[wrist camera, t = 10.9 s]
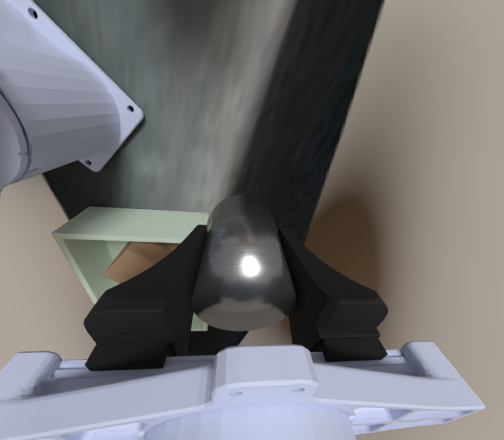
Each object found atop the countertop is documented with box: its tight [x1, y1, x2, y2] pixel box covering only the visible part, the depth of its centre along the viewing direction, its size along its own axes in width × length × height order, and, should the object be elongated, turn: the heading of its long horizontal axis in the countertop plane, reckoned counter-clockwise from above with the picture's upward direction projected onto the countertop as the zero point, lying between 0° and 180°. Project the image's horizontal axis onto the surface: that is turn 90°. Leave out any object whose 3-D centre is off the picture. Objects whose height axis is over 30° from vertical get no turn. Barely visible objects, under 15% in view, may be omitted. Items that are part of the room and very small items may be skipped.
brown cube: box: [102, 241, 180, 284], centre depth 21 cm, size 5×5×5 cm
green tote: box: [52, 206, 210, 331], centre depth 24 cm, size 17×13×5 cm
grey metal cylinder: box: [192, 195, 296, 331], centre depth 12 cm, size 5×5×7 cm
